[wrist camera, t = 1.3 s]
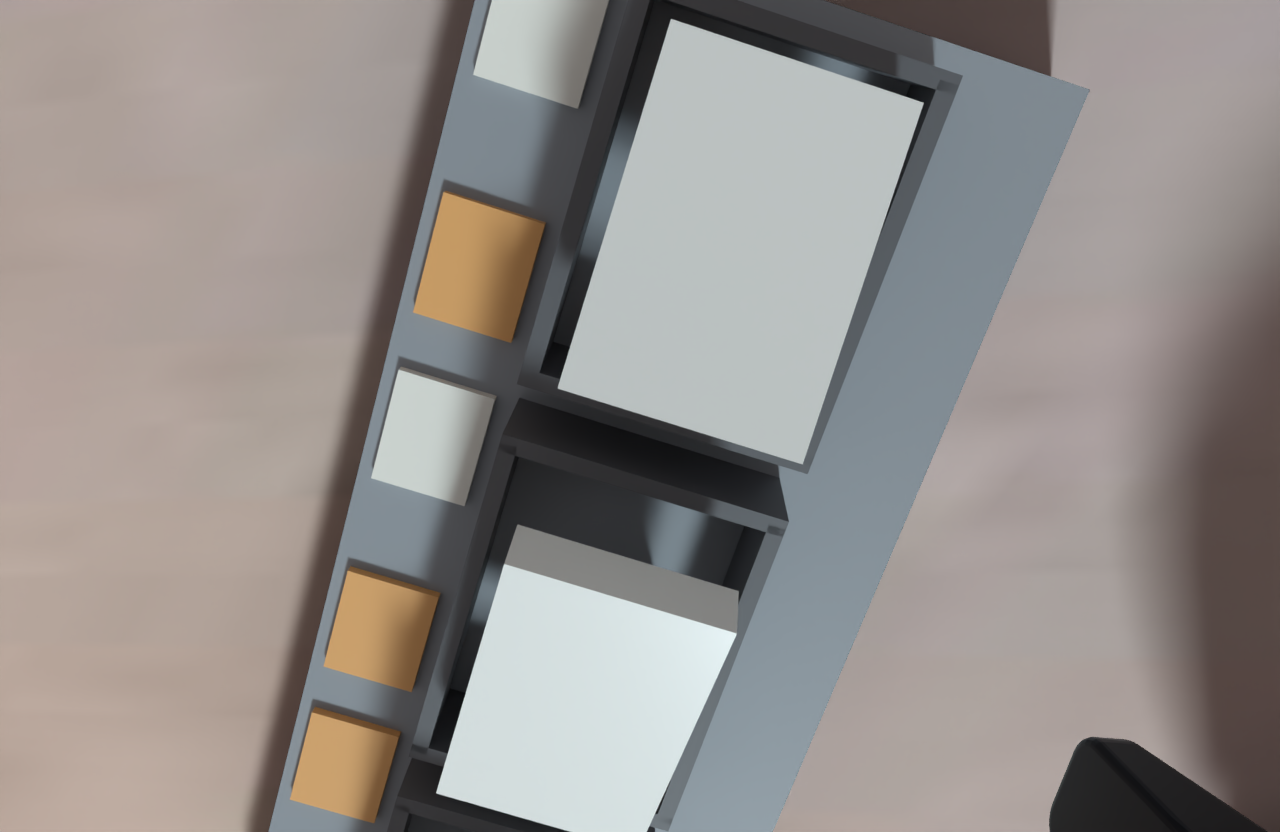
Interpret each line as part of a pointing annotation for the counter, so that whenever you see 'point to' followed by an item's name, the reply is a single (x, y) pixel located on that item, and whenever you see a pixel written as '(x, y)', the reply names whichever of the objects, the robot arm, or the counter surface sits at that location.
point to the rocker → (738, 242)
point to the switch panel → (630, 442)
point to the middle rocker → (586, 686)
